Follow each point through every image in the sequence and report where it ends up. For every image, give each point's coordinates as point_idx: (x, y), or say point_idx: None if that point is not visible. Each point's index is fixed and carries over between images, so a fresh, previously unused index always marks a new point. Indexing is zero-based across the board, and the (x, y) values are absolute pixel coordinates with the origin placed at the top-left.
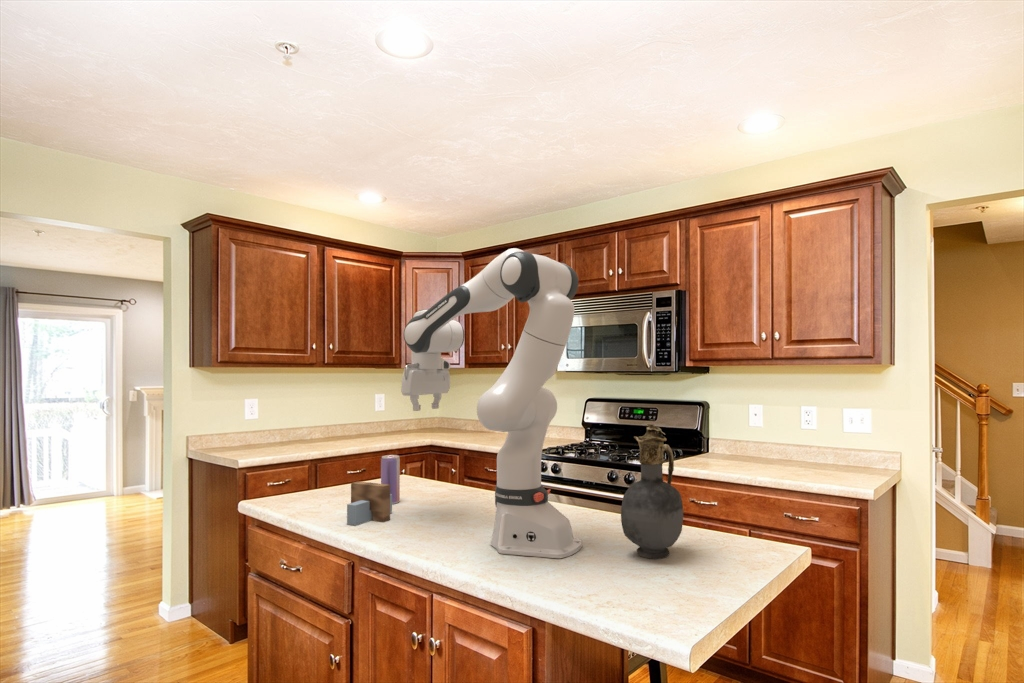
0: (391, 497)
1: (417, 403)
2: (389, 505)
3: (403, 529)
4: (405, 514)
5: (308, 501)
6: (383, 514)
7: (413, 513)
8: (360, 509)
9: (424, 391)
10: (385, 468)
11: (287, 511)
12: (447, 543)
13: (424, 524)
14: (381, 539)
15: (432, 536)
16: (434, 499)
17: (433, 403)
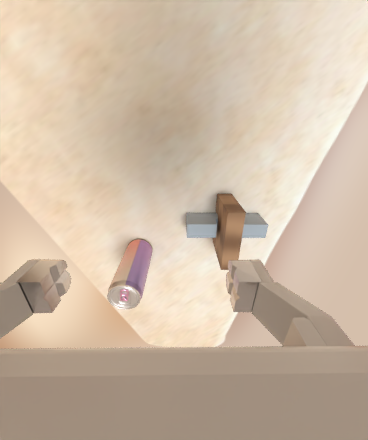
0: (188, 222)
1: (284, 289)
2: (222, 200)
3: (255, 144)
4: (183, 192)
5: (181, 319)
6: (233, 197)
7: (174, 186)
8: (254, 221)
9: (269, 385)
10: (144, 281)
11: (225, 308)
12: (313, 16)
13: (221, 131)
14: (309, 140)
15: (280, 73)
16: (89, 209)
17: (49, 298)
